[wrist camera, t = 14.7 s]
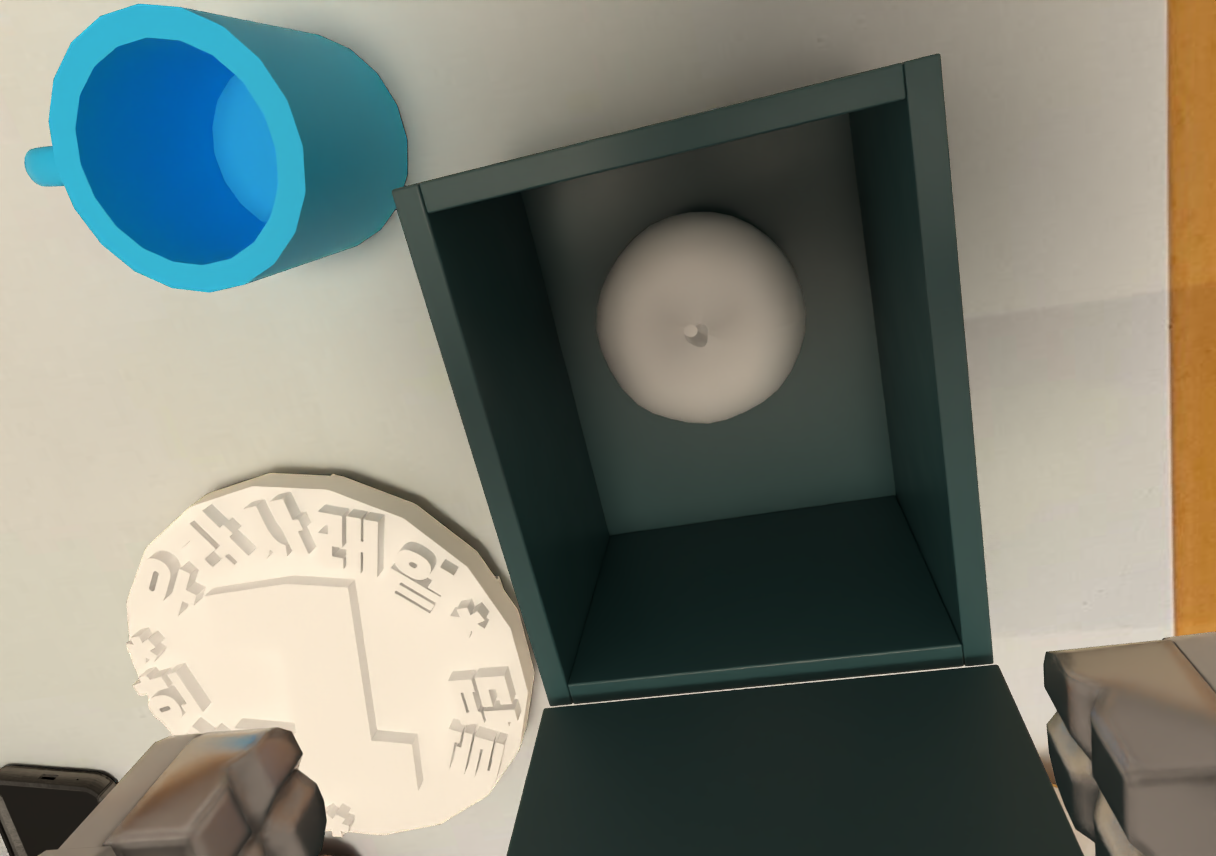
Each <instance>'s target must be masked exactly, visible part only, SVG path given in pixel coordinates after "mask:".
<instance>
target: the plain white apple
mask: <svg viewBox="0 0 1216 856" xmlns="http://www.w3.org/2000/svg"><path fill="white" fill-rule="evenodd" d="M805 317H806V310H805V304H804V299H803V293H802V289H801V286H800V284H799V281H798V278H797V276H796V273H795V270H794V268H793V267H792V265H791V264H790V262H789V260H788V259H787V257H786V255H785V254H784V252H783V251H782V250H781V249H780V248H779V247H778V246H777V245H776V244H775V243H774V242H773V241H772V240H771V239H770V238H769V237H768V236H767V235H765V234H764V233H763V232H761V231H760V230H758V229H757V228H756V227H754V226H753V225H751V224H749V223H747V222H745V221H742V220H740V219H738V218H736V217H733V216H730V215H725V214H720V213H715V212H688V213H683V214H679V215H674V216H669V217H667V218H665V219H663V220H661V221H658V222H656V223H654V224H652V225H650V226H649V227H647V228H646V229H645V230H644V231H642V232H641V233H640V234H639V235H637V236H636V237H635V238H634V239H633V240H632V241H631V242H630V243H629V245H628V246H627V247H626V248H625V249H624V250H623V252H622V253H621V254H620V255H619V257H618V258H617V260H616V262H615V263H614V265H613V266H612V268H611V270H610V271H609V273H608V275H607V277H606V280H605V282H604V284H603V287H602V289H601V292H600V297H599V301H598V306H597V335H598V339H599V343H600V347H601V351H602V353H603V356H604V358H605V360H606V362H607V364H608V367H609V369H610V371H611V372H612V374H613V375H614V377H615V378H616V380H617V382H618V383H619V385H620V386H621V388H622V389H623V390H624V391H625V392H626V393H627V394H628V395H629V396H630V397H631V398H632V399H633V401H634V402H635V403H636V404H637V405H639V406H641V407H643V408H644V409H646V410H648V411H650V412H651V413H653V414H656V415H660V416H663V417H666V418H669V419H673V420H678V421H683V422H687V423H704V424H708V423H713V422H718V421H722V420H727V419H729V418H732V417H734V416H737V415H739V414H742V413H744V412H746V411H748V410H750V409H751V408H753V407H755V406H757V405H759V404H760V403H762V402H764V401H765V400H766V399H767V398H769V397H770V396H771V395H772V394H773V393H774V392H776V391H777V390H778V389H779V388H780V386H781V385H782V384H783V382H784V381H785V379H786V378H787V377H788V375H789V374H790V372H791V370H792V368H793V366H794V363H795V361H796V359H797V357H798V355H799V352H800V348H801V345H802V341H803V337H804V333H805Z"/></svg>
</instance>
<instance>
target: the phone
mask: <svg viewBox="0 0 1216 856" xmlns="http://www.w3.org/2000/svg"><path fill="white" fill-rule="evenodd" d="M115 786H116V784H115V783H114V781H113V780H112V779H110V778H109V777H108V776H106V775H104V774H101V773H97V772H88V771H75V770H62V769H49V768H36V767H23V766H5V767H3V768H1V769H0V834H1V836H2V839H3V841H4V843H5V846H6V848H7V850H8V853H9V855H10V856H38V855H40V854H41V853H43V852H44V851H46V850H57V849H59V848H60V846H61V845H62V844H63V843H64V842H65V841H66V840H67V839H68V838H69V836H70V835H71V834H72V833H73V832H74V831H75V830H76V829H77V828H78V827H79V825H80V824H81V823H82V822H83V821H84V820H85V819H86V818H87V817H88V816H89V814H90V813H91V812H92V811H93V810H94V809H95V808H96V807H97V806H98V805H99V803H100V802H101V801H102V800H103V799H104V798H105V797H106V796H107V795H108V793H109V792H110V791H111V790H112V789H113V788H114V787H115Z"/></svg>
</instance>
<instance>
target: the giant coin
mask: <svg viewBox="0 0 1216 856" xmlns="http://www.w3.org/2000/svg"><path fill="white" fill-rule="evenodd" d="M126 603H127V615H128V627H129V640H130V641H128V642H127V643H126V645H127V650H128V653H131V661H132V663H133V665H134V667H135V670H136V672H137V674H138V676H139V678H138V680H137V681H136V682H135V683H134V684H133V685H132V686H133V687H134V689H135V690H136V692H137V693H138V695H139V696H143V695H146V694H147V696H148V698H149V702H148V707H149V709H150V711H151V713H152V714H153V715H154V717H155V718H156V719H158V720H159V721H161V722H162V723H163V724H164V725H165V726H166V728H167V729H168V730H169V731H170V732H171V733H172V734H173V735H185V734H198V733H200V734H204V733H206V732H217V731H231V730H245V729H259V728H273V727H279V728H282V729H285V730H289V731H292V733H293V735H294V737H295V739H296V741H297V743H298V745H299V747H300V749H301V750H302V752H303V756H302V759H301V762H300V765H299V769H298V770H300V771H301V772H302V773H304V774H305V775H306V776H308V777H309V778H310V779H311V780H313V781H314V782H315V783H317V785H318V788H319V790H320V792H321V794H322V797H323V799H324V803H325V811H326V818H327V823H326V829H325V832H327V831H332V836H334V837H343V835H344V833H345V832H346V833H348V832H355V833H364V834H373V835H386V834H392V833H397V832H402V831H408V830H413V829H418V828H424V827H429V826H434V825H440V824H442V823H443V822H445V821H447V820H448V819H450V818H452V817H453V816H455V815H457V814H458V813H460V812H462V811H463V810H465V809H467V808H468V807H470V806H472V805H473V804H475V803H477V802H478V801H480V800H481V799H483V798H485V797H486V796H488V795H489V794H490V792H491V791H492V789H493V788H494V786H495V785H496V783H497V782H498V780H499V779H500V778H501V776H502V775H503V773H504V772H505V770H506V769H507V767H508V766H509V764H510V763H511V762H512V760H513V759H514V757H515V756H516V754H517V753H518V751H519V750H520V747H521V744H522V741H523V738H524V735H525V731H526V727H527V721H528V714H529V708H530V701H531V695H532V688H533V681H534V675H535V672H534V668H533V664H532V660H531V656H530V653H529V649H528V645H527V641H526V638H525V634H524V630H523V626H522V622H521V619H520V615H519V611H518V609H517V608H516V606H515V605H514V604H513V602H512V601H511V599H510V598H509V596H508V595H507V593H506V592H505V591H504V588H503V585H502V582H501V579H500V576H494V575H493V573H492V572H491V570H490V569H489V568H488V566H487V565H486V563H485V562H484V560H483V559H482V558H481V556H480V555H479V553H478V552H477V551H476V550H475V549H474V548H472V547H471V546H470V545H468V544H467V543H466V542H465V541H463V540H462V539H461V538H459V537H458V536H457V535H455V534H454V533H453V532H452V531H450V530H449V529H448V528H446V527H445V526H444V525H442V524H441V523H440V522H439V521H437V520H436V519H435V518H433V517H432V516H431V515H429V514H428V513H427V512H426V511H424V510H423V509H422V508H420V507H419V506H418V505H416V504H415V503H412V502H410V501H407V500H404V499H402V498H399V497H396V496H394V495H391V494H388V493H386V492H383V491H380V490H378V489H375V488H372V487H370V486H367V485H364V484H362V483H359V482H356V481H354V480H351V479H348V478H346V477H343V476H338V475H335V474H332V475H331V476H326V475H304V474H282V473H268V474H265V475H262V476H259V477H256V478H253V479H250V480H247V481H244V482H241V483H238V484H235V485H232V486H229V487H226V488H223V489H220V490H217V491H214V492H211V493H208V494H206V495H205V496H204V497H202V498H201V499H200V500H198V501H197V502H195V503H194V504H193V505H191V506H190V507H189V508H187V509H186V510H185V511H184V512H183V513H182V514H181V515H180V516H179V517H178V518H177V519H176V520H175V521H174V522H173V523H172V524H171V525H169V526H168V527H167V528H166V529H165V530H164V531H163V532H162V533H161V534H160V535H159V536H158V537H157V538H156V539H155V540H154V541H152V542H151V543H150V544H149V545H148V546H147V547H146V548H145V551H144V554H143V557H142V559H141V562H140V565H139V568H138V571H137V573H136V576H135V579H134V582H133V584H132V587H131V590H130V593H129V596H128V598H127V601H126Z"/></svg>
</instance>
